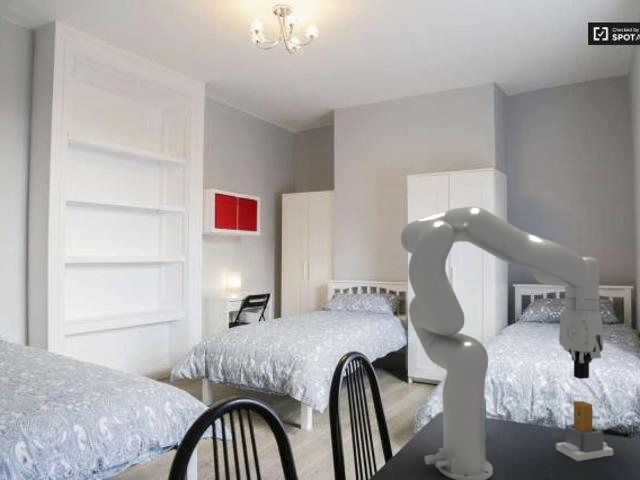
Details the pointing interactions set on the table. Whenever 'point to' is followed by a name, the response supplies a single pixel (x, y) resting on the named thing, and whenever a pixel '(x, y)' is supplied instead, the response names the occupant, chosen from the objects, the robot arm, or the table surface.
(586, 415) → the supplement box
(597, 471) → the table surface
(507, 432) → the table surface
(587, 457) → the grey slotted holder
